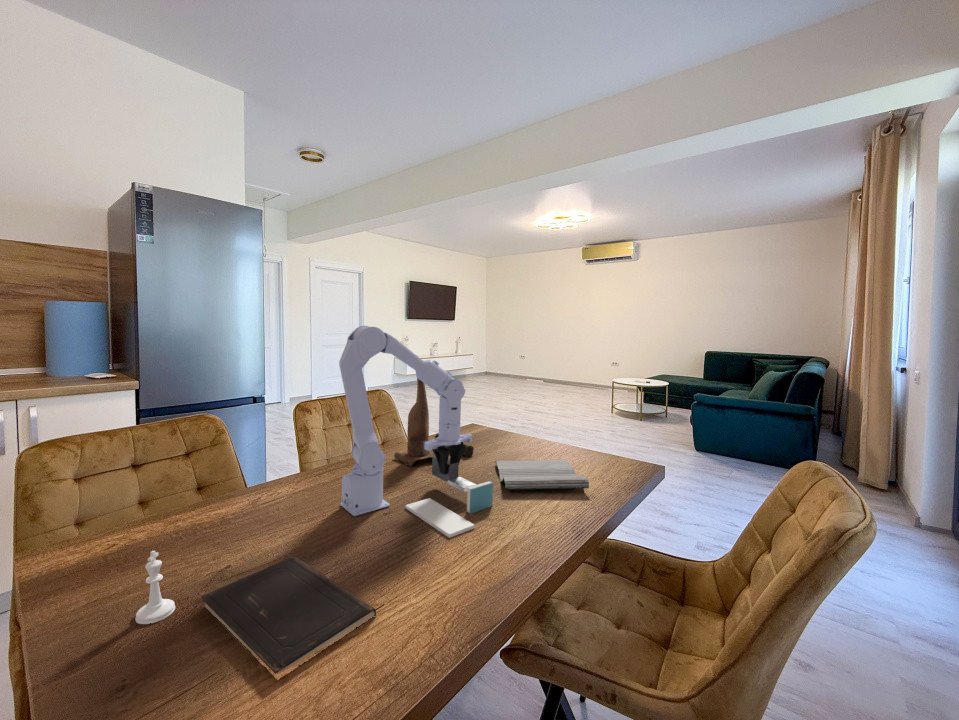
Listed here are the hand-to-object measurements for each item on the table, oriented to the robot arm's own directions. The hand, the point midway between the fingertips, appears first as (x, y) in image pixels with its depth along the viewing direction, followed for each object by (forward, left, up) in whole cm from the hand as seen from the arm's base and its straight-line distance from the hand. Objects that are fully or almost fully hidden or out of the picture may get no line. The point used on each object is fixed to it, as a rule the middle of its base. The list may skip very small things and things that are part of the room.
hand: (448, 471), depth 116 cm
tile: (0, -13, -6) cm, 14 cm away
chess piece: (-64, -11, -6) cm, 65 cm away
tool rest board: (-11, -11, -5) cm, 17 cm away
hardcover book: (-48, -23, -6) cm, 54 cm away
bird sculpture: (+7, +27, -6) cm, 28 cm away
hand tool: (+22, +29, -6) cm, 37 cm away
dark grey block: (0, -2, -2) cm, 3 cm away
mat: (+27, -8, -6) cm, 29 cm away
